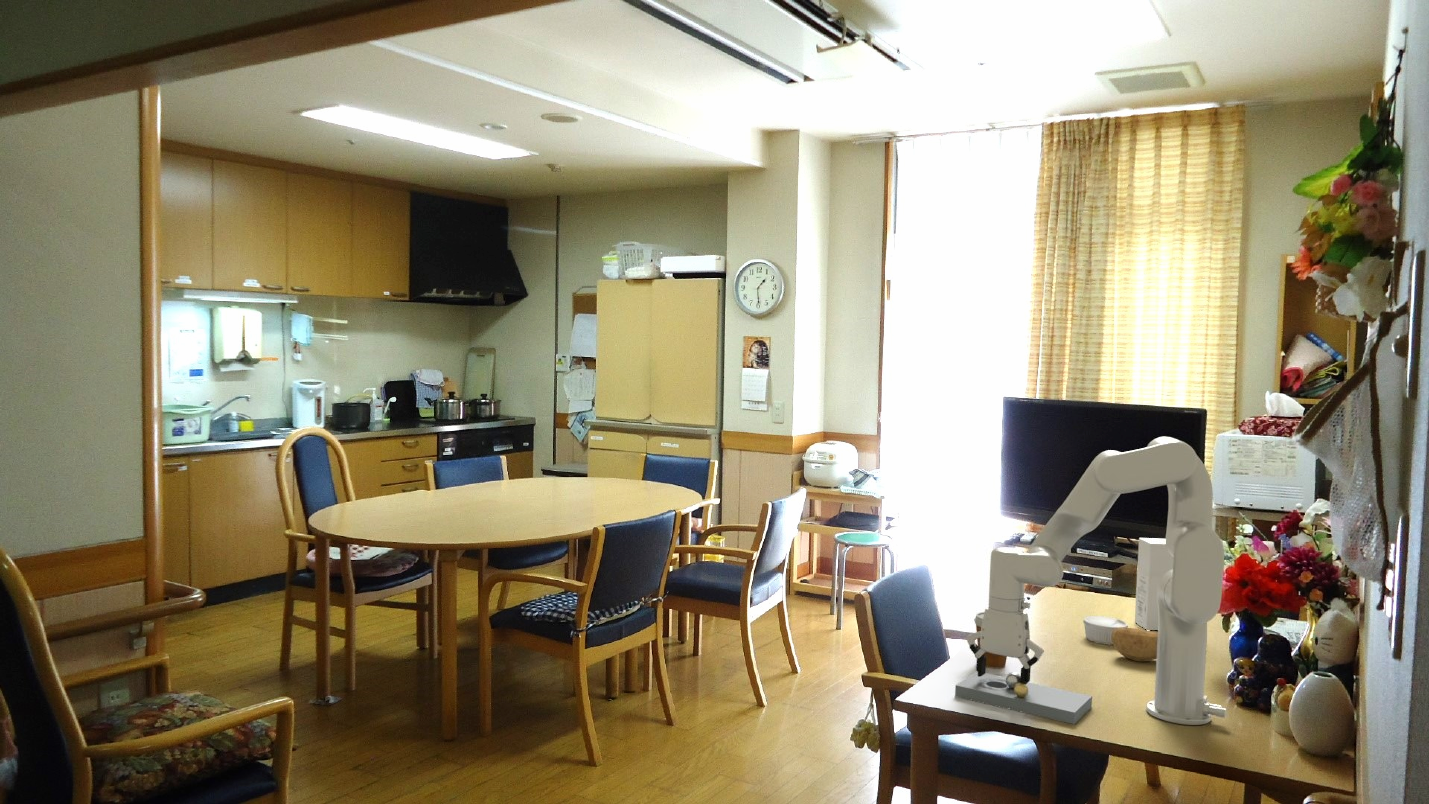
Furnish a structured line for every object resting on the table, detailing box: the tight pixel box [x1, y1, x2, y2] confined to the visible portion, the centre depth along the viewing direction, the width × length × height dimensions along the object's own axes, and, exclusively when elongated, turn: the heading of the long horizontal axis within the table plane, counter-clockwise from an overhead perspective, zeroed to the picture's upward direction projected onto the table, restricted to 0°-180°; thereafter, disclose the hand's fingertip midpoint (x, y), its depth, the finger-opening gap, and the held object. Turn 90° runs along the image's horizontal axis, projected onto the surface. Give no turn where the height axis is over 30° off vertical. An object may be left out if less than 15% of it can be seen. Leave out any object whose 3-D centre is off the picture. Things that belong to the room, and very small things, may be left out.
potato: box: [1111, 626, 1158, 662], centre depth 253 cm, size 10×14×8 cm
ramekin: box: [1082, 615, 1129, 645], centre depth 270 cm, size 11×11×5 cm
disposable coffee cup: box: [973, 611, 1008, 669], centre depth 245 cm, size 10×10×12 cm
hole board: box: [954, 671, 1093, 725], centre depth 219 cm, size 26×13×2 cm, turn 54°
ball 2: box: [1014, 683, 1028, 697], centre depth 215 cm, size 3×3×3 cm
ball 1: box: [1005, 671, 1021, 689], centre depth 220 cm, size 4×4×4 cm
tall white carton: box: [1134, 537, 1173, 630], centre depth 284 cm, size 9×9×25 cm
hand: (1002, 679), depth 221 cm, fingers open, 9 cm apart
